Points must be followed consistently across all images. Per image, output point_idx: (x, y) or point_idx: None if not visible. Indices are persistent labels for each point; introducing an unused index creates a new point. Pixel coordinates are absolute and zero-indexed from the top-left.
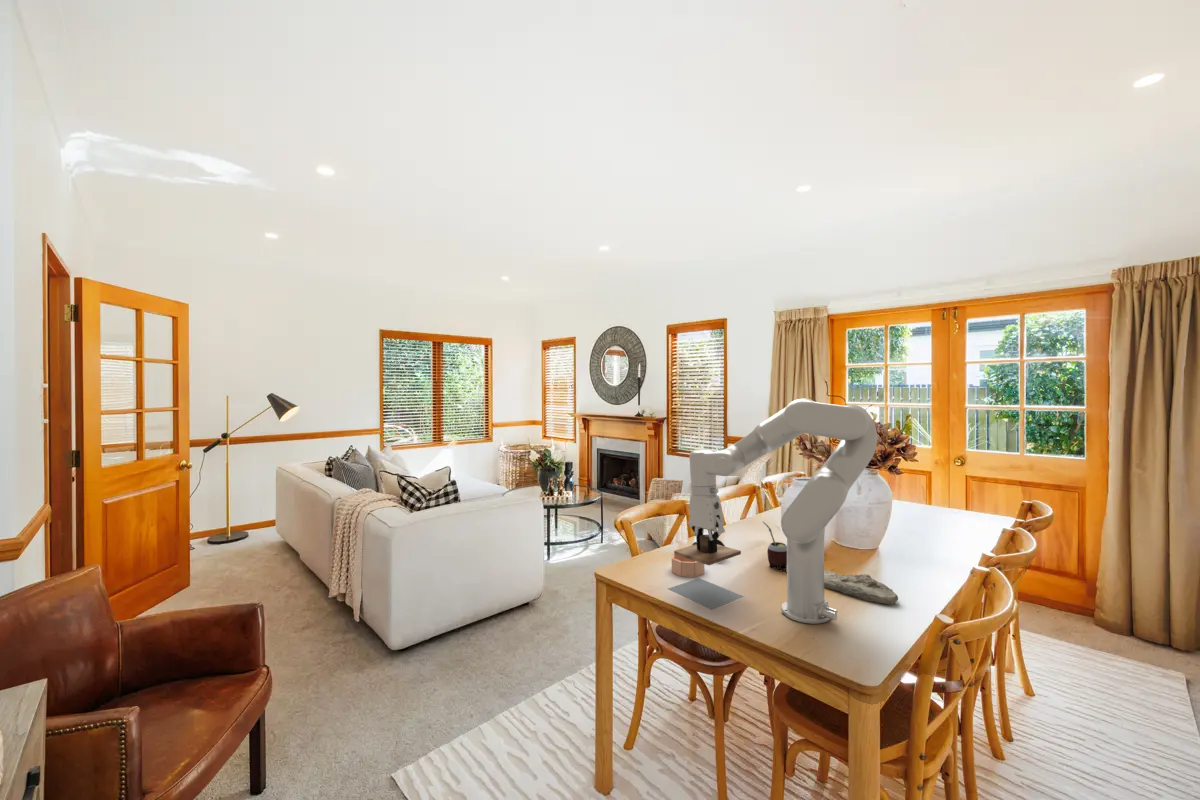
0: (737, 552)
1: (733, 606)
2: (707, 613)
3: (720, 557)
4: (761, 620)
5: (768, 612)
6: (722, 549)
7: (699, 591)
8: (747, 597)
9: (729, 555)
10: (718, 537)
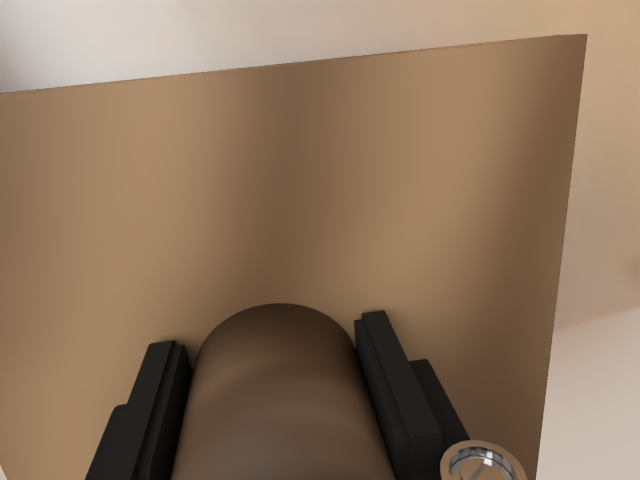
0: (573, 111)
1: None
2: None
3: (538, 389)
4: (625, 180)
5: (609, 80)
6: (361, 196)
7: None
8: (423, 27)
9: (555, 263)
10: (513, 456)
